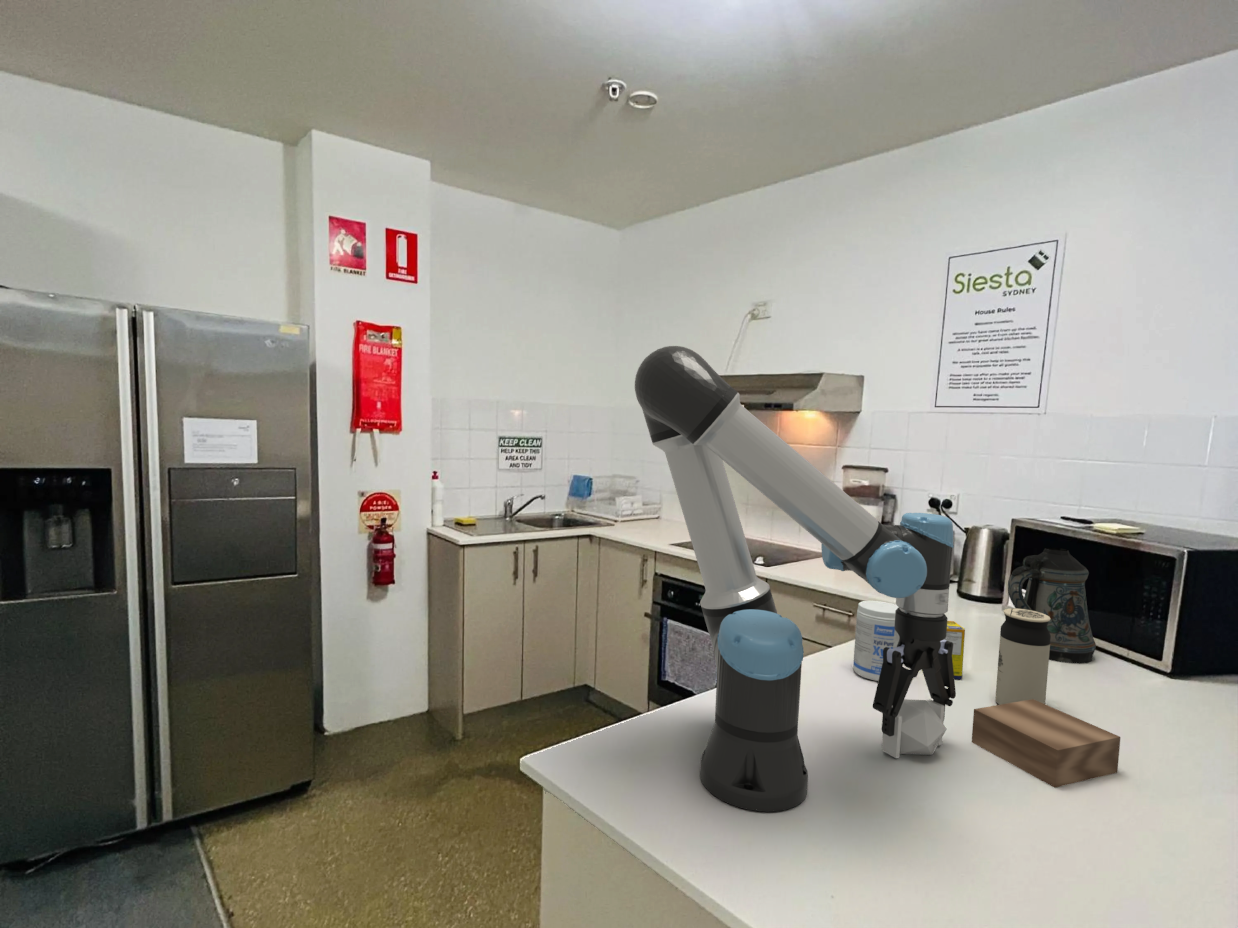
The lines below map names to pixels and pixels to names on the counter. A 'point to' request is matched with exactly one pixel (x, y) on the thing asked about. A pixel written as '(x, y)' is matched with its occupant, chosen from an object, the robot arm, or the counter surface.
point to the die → (919, 728)
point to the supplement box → (956, 646)
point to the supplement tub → (873, 637)
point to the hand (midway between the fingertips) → (912, 747)
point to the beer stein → (1057, 601)
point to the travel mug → (1023, 657)
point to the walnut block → (1046, 742)
